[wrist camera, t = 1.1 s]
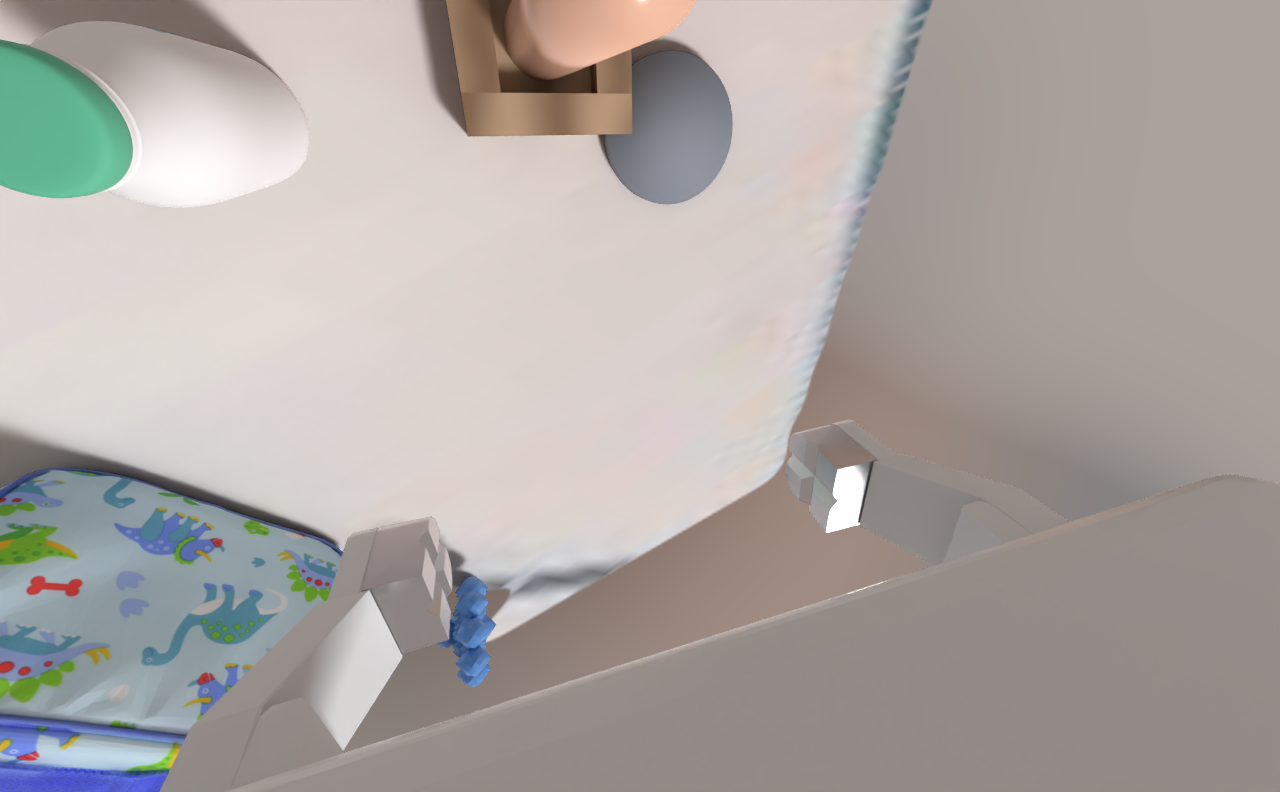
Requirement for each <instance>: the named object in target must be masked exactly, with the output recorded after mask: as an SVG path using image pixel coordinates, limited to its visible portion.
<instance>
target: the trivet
mask: <svg viewBox="0 0 1280 792" xmlns="http://www.w3.org/2000/svg"><path fill="white" fill-rule="evenodd" d="M731 137H732V112H731V105H730V102H729V98H728V95H727V92H726V90H725V87H724V85H723V84H722V82H721V80H720V78H719V77H718V76H717V74H716V73H715V72H714V70H713V69H712V68H711V67H710V66H709V65H708V64H706V63H705V62H704V61H702V60H701V59H699V58H698V57H696V56H694V55H692V54H689V53H686V52H681V51H663V52H658V53H655V54H652V55H649V56H647V57H644V58H643V59H641V60H639V61H637V62H636V63H635V64H633V65H632V134H604V143H605V148H606V153H607V156H608V159H609V162H610V164H611V166H612V169H613V170H614V172H615V174H616V175H617V177H618V178H619V180H620V181H621V182H622V183H623V184H624V185H625V186H626V187H627V188H628V189H629V190H630V191H631V192H633V193H634V194H636V195H637V196H639V197H641V198H643V199H646V200H648V201H651V202H654V203H659V204H676V203H680V202H684V201H686V200H689V199H691V198H693V197H695V196H696V195H698V194H699V193H701V192H702V191H703V190H705V189H706V188H707V187H708V186H709V185H710V184H711V182H712V181H713V180H714V179H715V178H716V176H717V175H718V173H719V172H720V170H721V168H722V166H723V164H724V162H725V160H726V157H727V154H728V151H729V147H730V143H731Z"/></svg>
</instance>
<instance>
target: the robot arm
mask: <svg viewBox="0 0 1280 792" xmlns="http://www.w3.org/2000/svg"><path fill="white" fill-rule="evenodd" d="M788 448H789V449H790V450H791V452H792V453H793V455H792V456H791V458H790V459H789V461H788V462H787V466H786V477H787V481H788V485H789V487H790V489H791V491H792V493H793V494H794V495H795V496H796V498H797V499H798V500H800V501H802V502H804V503H807V504H809V505H810V514H811V515H812V516H813V517H814V519H815V520H816V521H817V522H818V523H819V524H820V525H821V527H822V528H823V529H824V530H825V531H826V532H830V531H833V530H838V529H842V528H845V527H850V526H854V525H857V524H859V526H860V527H862V528H864V529H866V530H868V531H870V532H872V533H874V534H875V535H877V536H879V537H881V538H883V539H885V540H887V541H889V542H891V543H892V544H894V545H896V546H898V547H900V548H902V549H904V550H906V551H908V552H909V553H911V554H913V555H915V556H917V557H919V558H921V559H923V560H924V561H926V562H928V563H930V564H932V565H934V566H931V567H928V568H925V569H921V570H918V571H915V572H912V573H909V574H906V575H902V576H899V577H896V578H893V579H890V580H887V581H883V582H880V583H877V584H874V585H871V586H868V587H865V588H861V589H858V590H855V591H852V592H849V593H846V594H843V595H839V596H837V597H833V598H830V599H827V600H824V601H821V602H818V603H814V604H811V605H808V606H805V607H802V608H799V609H796V610H792V611H790V612H786V613H783V614H780V615H777V616H774V617H770V618H768V619H764V620H761V621H758V622H755V623H752V624H749V625H745V626H742V627H739V628H736V629H733V630H730V631H726V632H724V633H720V634H717V635H714V636H711V637H708V638H704V639H702V640H698V641H695V642H692V643H689V644H685V645H682V646H679V647H676V648H673V649H670V650H667V651H663V652H660V653H657V654H654V655H651V656H648V657H645V658H641V659H638V660H635V661H632V662H629V663H626V664H623V665H620V666H616V667H614V668H610V669H607V670H604V671H601V672H597V673H594V674H591V675H588V676H585V677H582V678H579V679H576V680H573V681H569V682H566V683H563V684H560V685H557V686H553V687H550V688H547V689H544V690H541V691H538V692H535V693H531V694H529V695H525V696H522V697H519V698H516V699H513V700H510V701H506V702H503V703H500V704H497V705H494V706H491V707H488V708H484V709H481V710H478V711H475V712H472V713H469V714H466V715H463V716H459V717H456V718H453V719H450V720H447V721H444V722H441V723H437V724H434V725H431V726H428V727H425V728H422V729H419V730H415V731H412V732H409V733H406V734H403V735H400V736H397V737H393V738H390V739H387V740H384V741H381V742H378V743H375V744H371V745H368V746H365V747H362V748H359V749H356V750H352V751H350V752H346V753H345V752H344V751H343V750H344V748H345V747H346V745H347V744H348V742H349V740H350V739H351V737H352V736H353V734H354V733H355V731H356V729H357V728H358V726H359V725H360V723H361V721H362V720H363V718H364V717H365V715H366V714H367V712H368V710H369V709H370V707H371V706H372V704H373V703H374V701H375V699H376V698H377V696H378V695H379V693H380V691H381V690H382V689H383V687H384V685H385V684H386V682H387V681H388V679H389V677H390V676H391V674H392V673H393V671H394V670H395V668H396V666H397V665H398V663H399V661H400V660H401V659H402V654H404V653H407V652H411V651H414V650H417V649H420V648H424V647H426V646H430V645H433V644H436V643H440V642H443V641H446V640H449V629H450V614H451V610H450V607H449V604H448V602H447V598H448V596H449V595H450V593H451V592H452V570H451V563H450V559H449V555H448V552H447V549H446V546H444V545H442V544H441V543H439V535H440V530H439V527H438V525H437V522H436V520H435V518H433V517H432V516H431V517H426V518H422V519H417V520H412V521H407V522H402V523H398V524H393V525H388V526H383V527H380V528H375V529H371V530H366V531H361V532H357V533H353V534H352V535H351V536H350V537H349V538H348V539H347V542H346V545H345V548H344V551H343V554H342V557H341V560H340V563H339V566H338V569H337V572H336V575H335V578H334V582H333V585H332V588H331V591H330V594H329V597H328V600H327V601H323V602H319V603H318V604H317V605H316V606H315V607H314V608H313V609H312V610H311V611H310V612H309V613H308V614H307V615H306V616H305V617H303V618H302V619H301V620H300V621H299V622H298V623H297V624H296V625H295V626H294V627H293V628H292V629H291V630H290V631H289V632H288V633H287V634H286V635H285V636H284V637H283V638H282V639H281V640H280V641H279V642H278V643H277V644H276V645H275V646H274V647H273V648H272V649H271V650H270V651H269V652H268V653H266V654H265V655H264V656H263V657H262V658H261V659H260V660H259V661H258V662H257V663H256V664H255V665H254V666H253V667H252V668H251V669H250V670H249V671H248V672H247V673H246V674H245V675H244V676H243V677H242V678H241V679H240V680H239V681H238V682H237V683H236V684H235V685H234V686H233V687H232V688H230V689H229V690H228V691H227V692H226V693H225V694H224V695H223V696H222V697H221V698H220V699H219V700H218V701H217V702H216V703H215V704H214V705H213V706H212V707H211V708H210V709H209V710H208V711H207V712H206V713H205V714H204V715H203V716H202V717H201V718H200V719H199V720H198V721H197V722H196V723H195V724H193V725H192V726H191V728H190V730H189V732H188V734H187V736H186V738H185V740H184V742H183V745H182V747H181V749H180V751H179V753H178V755H177V757H176V759H175V761H174V763H173V765H172V767H171V769H170V771H169V773H168V775H167V777H166V779H165V781H164V783H163V785H162V787H161V790H160V792H1280V483H1276V482H1271V481H1266V480H1262V479H1257V478H1250V477H1245V476H1239V475H1221V476H1215V477H1211V478H1207V479H1203V480H1200V481H1197V482H1194V483H1191V484H1188V485H1185V486H1182V487H1179V488H1176V489H1172V490H1170V491H1166V492H1163V493H1160V494H1157V495H1154V496H1151V497H1147V498H1144V499H1141V500H1138V501H1135V502H1132V503H1129V504H1126V505H1123V506H1119V507H1116V508H1113V509H1110V510H1107V511H1104V512H1101V513H1098V514H1095V515H1092V516H1088V517H1085V518H1082V519H1078V520H1076V521H1072V522H1069V521H1068V520H1066V519H1065V518H1063V517H1061V516H1060V515H1059V514H1057V513H1055V512H1054V511H1052V510H1051V509H1049V508H1048V507H1046V506H1045V505H1043V504H1042V503H1040V502H1039V501H1037V500H1036V499H1034V498H1033V497H1031V496H1030V495H1028V494H1027V493H1025V492H1024V491H1022V490H1021V489H1019V488H1017V487H1014V486H1010V485H1007V484H1004V483H1000V482H997V481H994V480H990V479H987V478H983V477H980V476H977V475H974V474H970V473H967V472H963V471H960V470H957V469H953V468H950V467H946V466H943V465H940V464H937V463H933V462H930V461H927V460H923V459H920V458H917V457H913V456H910V455H906V454H901V455H898V454H897V453H895V452H894V451H893V450H891V449H890V448H889V447H887V446H886V445H885V444H884V443H882V442H881V441H880V440H878V439H877V438H876V437H874V436H873V435H872V434H871V433H869V432H868V431H867V430H865V429H864V428H863V427H861V426H860V425H858V423H856V422H855V421H852V420H845V421H841V422H837V423H833V424H830V425H827V426H823V427H819V428H814V429H810V430H806V431H802V432H797V433H794V434H792V436H791V438H790V440H789V447H788Z"/></svg>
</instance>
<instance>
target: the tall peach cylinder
mask: <svg viewBox="0 0 1280 792" xmlns="http://www.w3.org/2000/svg"><path fill="white" fill-rule="evenodd" d="M695 2H696V0H511V1H510V4H509V6H508V8H507V10H506V13H505V16H504V22H503V36H504V42H505V46H506V49H507V52H508V54H509V56H510V58H511V59H512V61H513V63H514V64H515V65H516V66H517V68H518V69H519V70H520V71H522V72H523V73H524V74H525V75H527V76H529V77H530V78H533V79H535V80H538V81H552V80H556V79H558V78H561V77H563V76H566V75H568V74H571V73H573V72H576V71H578V70H580V69H583V68H585V67H588V66H590V65H593V64H595V63H598V62H600V61H603V60H605V59H608V58H610V57H613V56H615V55H618V54H620V53H622V52H625V51H627V50H630V49H632V48H635V47H637V46H640V45H642V44H645V43H647V42H650V41H652V40H655V39H657V38H659V37H662V36H663V35H665V34H667V33H669V32H670V31H672V30H673V29H674V28H675V27H677V26H678V25H679V24H680V23H681V22H682V21H683V20H684V18H685V17H686V16H687V14H688V13H689V12H690V10H691V8H692V7H693V5H694V3H695Z"/></svg>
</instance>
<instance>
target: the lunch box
mask: <svg viewBox="0 0 1280 792" xmlns="http://www.w3.org/2000/svg"><path fill="white" fill-rule="evenodd" d="M342 554H343V552H342V551H341V550H340V549H339V548H337V547H336V546H335V545H333V544H331V543H330V542H328V541H326V540H323V539H321V538H318V537H315V536H312V535H309V534H306V533H303V532H299V531H296V530H292V529H289V528H286V527H282V526H279V525H275V524H272V523H269V522H265V521H262V520H259V519H256V518H252V517H249V516H246V515H242V514H239V513H236V512H233V511H230V510H227V509H224V508H223V507H222V506H218V505H214V504H211V503H207V502H203V501H199V500H196V499H193V498H190V497H186V496H183V495H180V494H177V493H174V492H172V491H169V490H166V489H164V488H161V487H158V486H155V485H152V484H149V483H146V482H144V481H140V480H137V479H133V478H130V477H126V476H121V475H117V474H112V473H107V472H101V471H94V470H87V469H77V468H52V469H44V470H39V471H35V472H32V473H30V474H27V475H25V476H23V477H20V478H18V479H16V480H14V481H12V482H10V483H9V484H7V485H5V486H4V487H2V488H0V792H160V790H161V787H162V785H163V783H164V781H165V779H166V777H167V775H168V773H169V771H170V769H171V767H172V765H173V763H174V761H175V759H176V757H177V755H178V753H179V751H180V749H181V747H182V745H183V742H184V740H185V738H186V736H187V734H188V732H189V730H190V728H191V726H192V725H193V724H195V723H196V722H197V721H198V720H199V719H200V718H201V717H202V716H203V715H204V714H205V713H206V712H207V711H208V710H209V709H210V708H211V707H212V706H213V705H214V704H215V703H216V702H217V701H218V700H219V699H220V698H221V697H222V696H223V695H224V694H225V693H226V692H227V691H228V690H229V689H230V688H232V687H233V686H234V685H235V684H236V683H237V682H238V681H239V680H240V679H241V678H242V677H243V676H244V675H245V674H246V673H247V672H248V671H249V670H250V669H251V668H252V667H253V666H254V665H255V664H256V663H257V662H258V661H259V660H260V659H261V658H262V657H263V656H264V655H265V654H266V653H268V652H269V651H270V650H271V649H272V648H273V647H274V646H275V645H276V644H277V643H278V642H279V641H280V640H281V639H282V638H283V637H284V636H285V635H286V634H287V633H288V632H289V631H290V630H291V629H292V628H293V627H294V626H295V625H296V624H297V623H298V622H299V621H300V620H301V619H302V618H303V617H305V616H306V615H307V614H308V613H309V612H310V611H311V610H312V609H313V608H314V607H315V606H316V605H317V604H318V603H319V602H323V601H327V600H328V597H329V594H330V591H331V588H332V585H333V582H334V578H335V575H336V572H337V569H338V566H339V563H340V560H341V557H342Z"/></svg>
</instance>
